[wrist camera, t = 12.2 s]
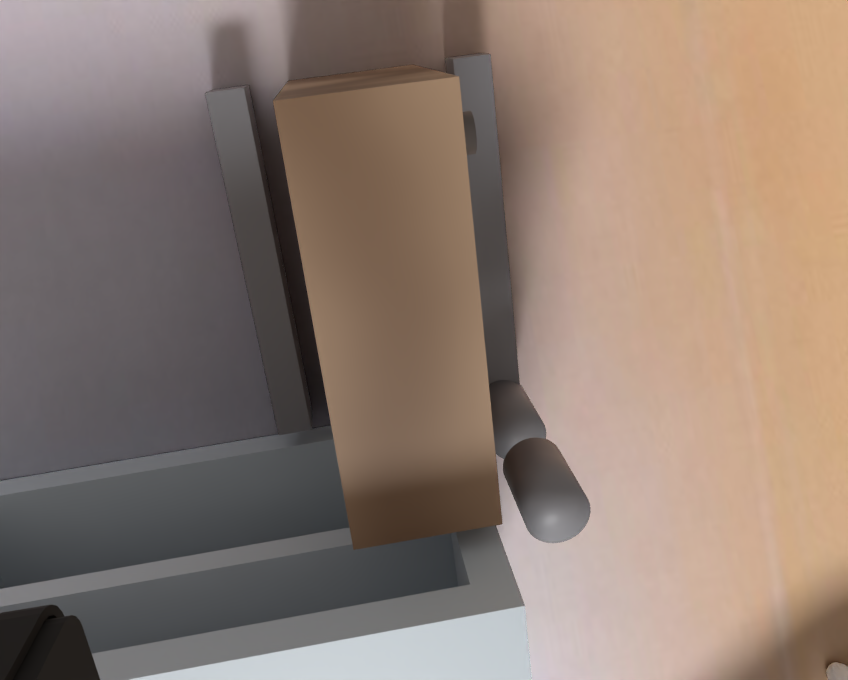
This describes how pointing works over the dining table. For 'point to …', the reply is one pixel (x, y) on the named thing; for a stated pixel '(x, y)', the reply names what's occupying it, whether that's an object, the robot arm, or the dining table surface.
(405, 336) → the door
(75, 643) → the robot arm
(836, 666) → the spoon rest
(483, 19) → the dining table surface
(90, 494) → the cabinet
